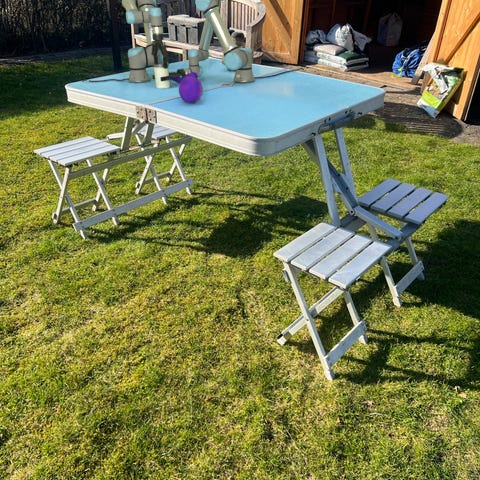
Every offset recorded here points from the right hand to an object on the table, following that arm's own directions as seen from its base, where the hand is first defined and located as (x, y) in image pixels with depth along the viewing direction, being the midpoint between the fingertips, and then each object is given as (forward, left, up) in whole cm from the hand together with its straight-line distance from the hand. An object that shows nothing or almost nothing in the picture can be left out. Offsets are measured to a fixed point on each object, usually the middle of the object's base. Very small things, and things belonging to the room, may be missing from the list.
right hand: (156, 78), depth 314 cm
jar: (-4, -2, -6) cm, 8 cm away
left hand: (-4, -2, +7) cm, 8 cm away
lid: (-4, -2, +9) cm, 10 cm away
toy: (-15, +46, -6) cm, 48 cm away
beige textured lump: (-67, -48, -6) cm, 83 cm away
